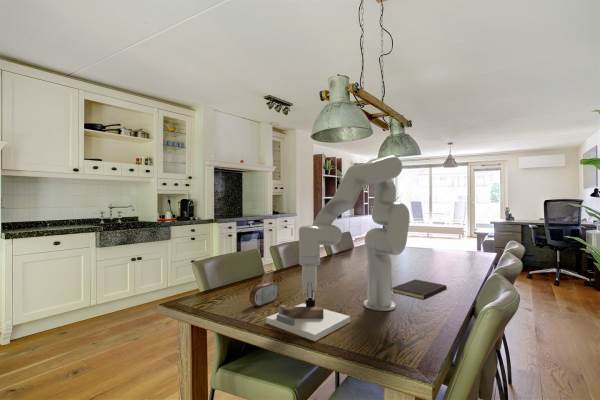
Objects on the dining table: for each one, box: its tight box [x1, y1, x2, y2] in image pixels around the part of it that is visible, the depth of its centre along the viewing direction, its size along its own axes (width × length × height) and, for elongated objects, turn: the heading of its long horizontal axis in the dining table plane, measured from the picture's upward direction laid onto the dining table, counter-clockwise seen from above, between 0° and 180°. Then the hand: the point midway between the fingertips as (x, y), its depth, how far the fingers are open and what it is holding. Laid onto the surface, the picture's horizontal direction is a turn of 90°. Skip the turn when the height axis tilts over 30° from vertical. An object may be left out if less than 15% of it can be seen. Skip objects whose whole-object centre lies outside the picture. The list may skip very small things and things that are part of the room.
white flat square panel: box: [265, 302, 351, 342], centre depth 111 cm, size 20×22×4 cm
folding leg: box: [278, 304, 324, 318], centre depth 111 cm, size 16×3×4 cm, turn 88°
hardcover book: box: [392, 278, 448, 300], centre depth 150 cm, size 16×23×2 cm
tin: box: [248, 281, 279, 307], centre depth 132 cm, size 15×3×8 cm, turn 141°
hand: (310, 310), depth 114 cm, fingers closed
